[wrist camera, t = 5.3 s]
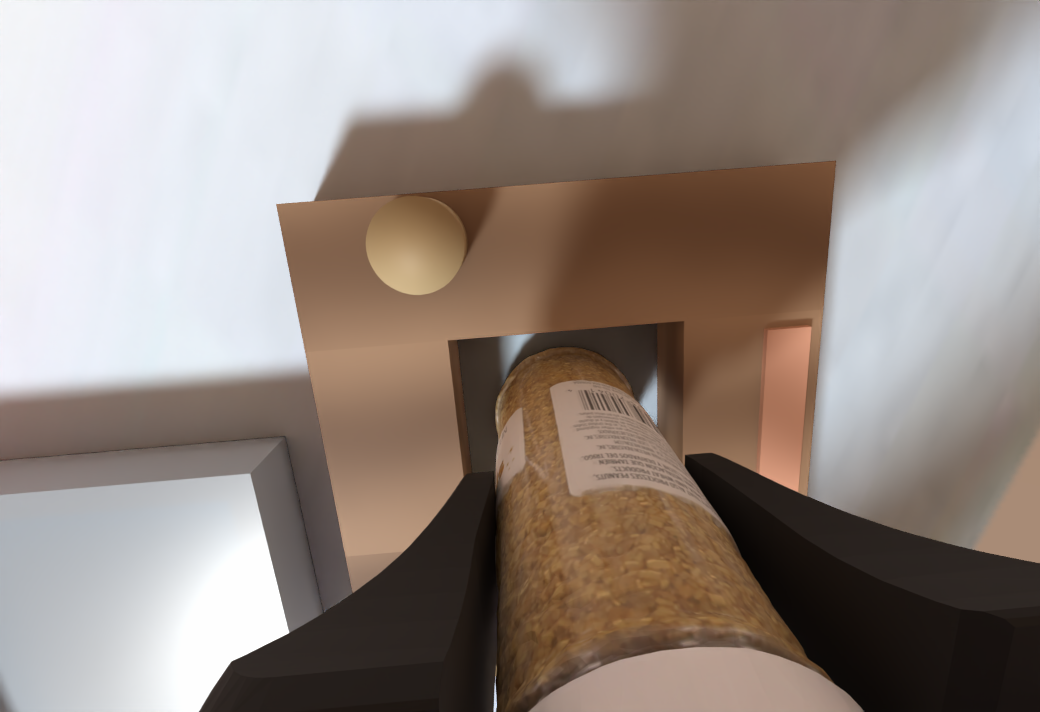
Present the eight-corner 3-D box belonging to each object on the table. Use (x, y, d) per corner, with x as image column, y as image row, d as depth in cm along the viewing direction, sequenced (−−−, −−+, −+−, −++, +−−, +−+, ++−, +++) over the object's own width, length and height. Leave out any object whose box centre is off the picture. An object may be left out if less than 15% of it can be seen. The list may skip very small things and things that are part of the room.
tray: (352, 746, 21) (333, 816, 18) (10, 778, 21) (-55, 853, 18) (285, 436, 17) (250, 473, 15) (-134, 472, 17) (-239, 515, 15)
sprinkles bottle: (466, 409, 17) (338, 1084, 4) (569, 312, 16) (832, 766, 3) (562, 497, 18) (709, 1262, 5) (663, 410, 17) (1155, 1056, 4)
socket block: (759, 566, 19) (823, 655, 15) (382, 601, 19) (352, 700, 15) (783, 168, 15) (878, 154, 12) (311, 204, 15) (247, 203, 11)
